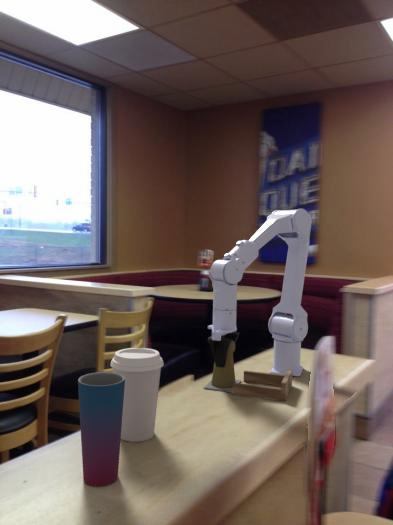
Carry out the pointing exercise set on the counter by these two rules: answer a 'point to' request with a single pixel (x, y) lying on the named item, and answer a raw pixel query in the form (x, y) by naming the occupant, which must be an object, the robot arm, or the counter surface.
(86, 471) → the cup
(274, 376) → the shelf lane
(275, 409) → the counter surface
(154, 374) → the coffee cup
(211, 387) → the mat
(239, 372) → the counter surface
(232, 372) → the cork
